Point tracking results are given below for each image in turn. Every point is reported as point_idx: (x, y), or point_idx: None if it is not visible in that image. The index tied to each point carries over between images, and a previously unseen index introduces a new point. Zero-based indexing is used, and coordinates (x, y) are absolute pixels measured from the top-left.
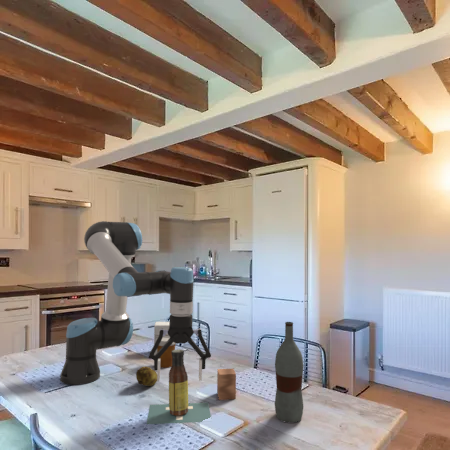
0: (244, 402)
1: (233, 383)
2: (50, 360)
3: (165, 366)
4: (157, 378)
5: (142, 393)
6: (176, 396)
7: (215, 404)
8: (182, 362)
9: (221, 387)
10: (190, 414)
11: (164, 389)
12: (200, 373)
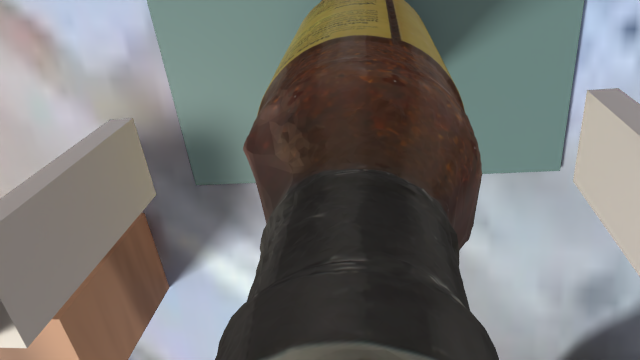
0: (2, 182)
1: None
2: None
3: None
4: (631, 100)
5: (596, 320)
6: (373, 6)
7: (153, 165)
8: (272, 231)
9: None
10: (281, 22)
11: None
12: (81, 150)
